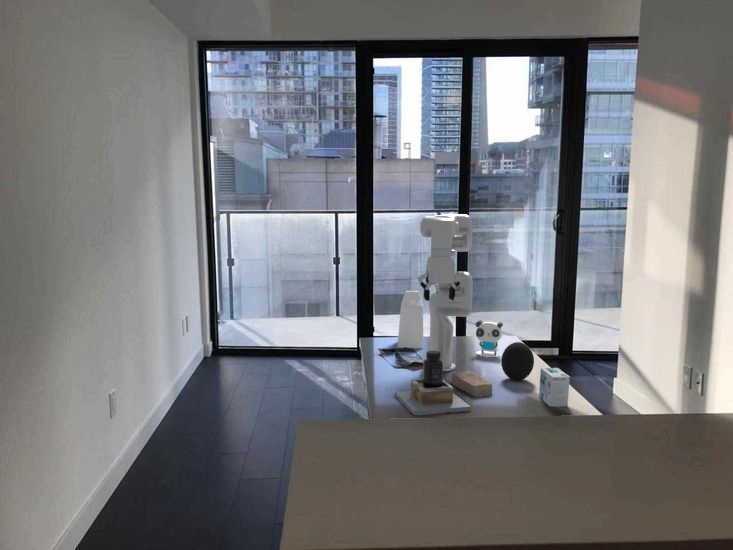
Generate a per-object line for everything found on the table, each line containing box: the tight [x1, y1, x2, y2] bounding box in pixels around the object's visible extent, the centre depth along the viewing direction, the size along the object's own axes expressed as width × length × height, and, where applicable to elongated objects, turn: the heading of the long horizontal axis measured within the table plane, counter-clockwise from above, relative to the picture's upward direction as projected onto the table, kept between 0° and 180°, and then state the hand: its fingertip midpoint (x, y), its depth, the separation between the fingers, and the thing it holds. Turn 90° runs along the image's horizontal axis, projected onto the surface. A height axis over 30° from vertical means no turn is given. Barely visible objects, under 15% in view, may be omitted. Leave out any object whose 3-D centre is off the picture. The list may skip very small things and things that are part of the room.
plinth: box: [410, 378, 454, 405], centre depth 207 cm, size 11×11×6 cm
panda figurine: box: [475, 319, 504, 358], centre depth 272 cm, size 12×11×15 cm
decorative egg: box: [500, 341, 535, 381], centre depth 235 cm, size 12×12×15 cm
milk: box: [397, 290, 424, 349], centre depth 285 cm, size 12×12×26 cm
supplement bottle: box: [422, 350, 444, 388], centre depth 206 cm, size 7×7×12 cm
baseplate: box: [394, 389, 472, 416], centre depth 207 cm, size 20×20×2 cm
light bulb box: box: [538, 367, 571, 407], centre depth 211 cm, size 11×7×11 cm, turn 5°
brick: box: [450, 370, 493, 397], centre depth 224 cm, size 16×8×5 cm, turn 23°
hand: (439, 299), depth 219 cm, fingers open, 9 cm apart
